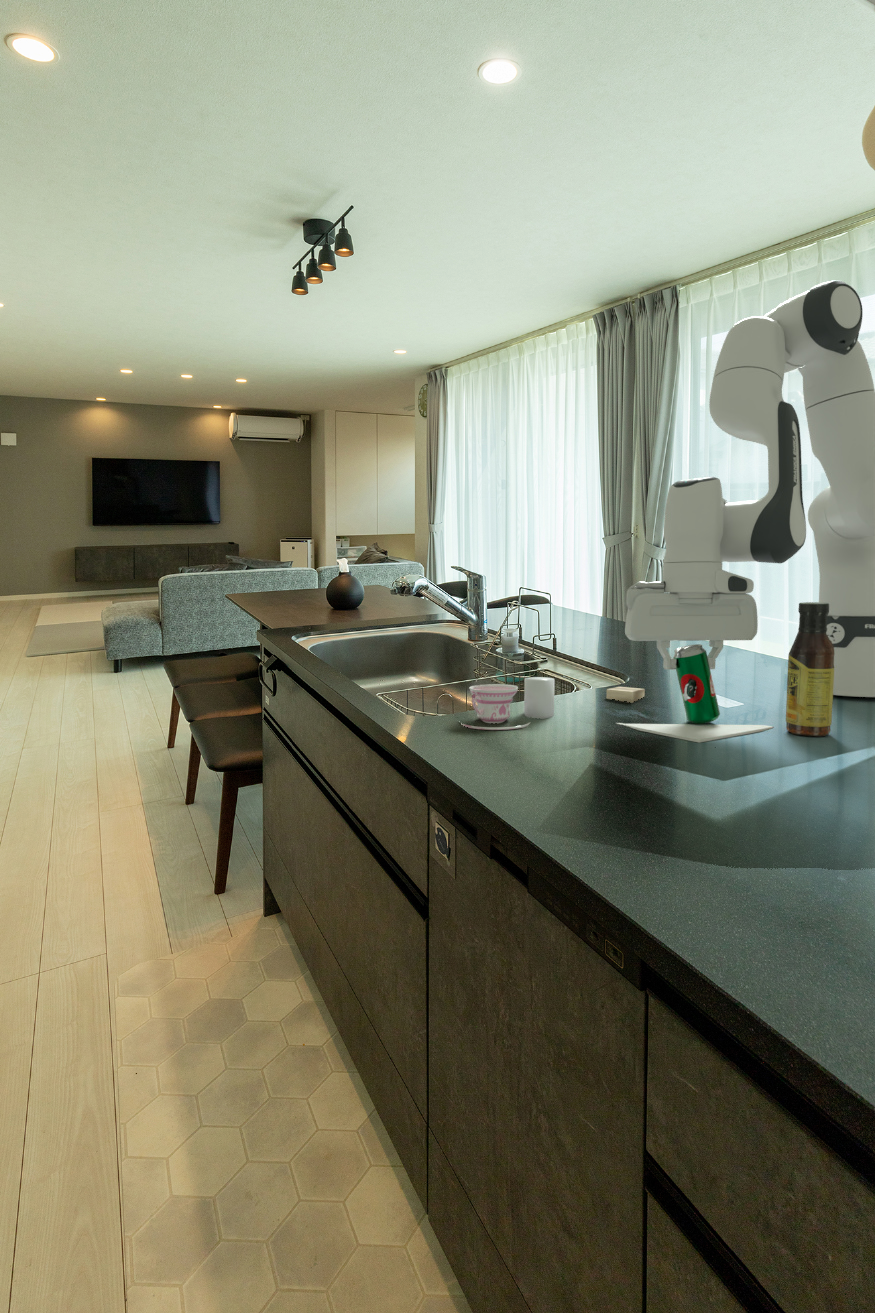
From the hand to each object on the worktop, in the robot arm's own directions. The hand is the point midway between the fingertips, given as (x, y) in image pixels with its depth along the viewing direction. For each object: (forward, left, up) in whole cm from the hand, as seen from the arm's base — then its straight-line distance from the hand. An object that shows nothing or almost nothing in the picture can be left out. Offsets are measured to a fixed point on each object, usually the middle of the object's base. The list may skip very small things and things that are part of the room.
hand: (689, 669), depth 117 cm
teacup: (+24, -19, -10) cm, 32 cm away
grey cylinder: (+16, -18, -9) cm, 26 cm away
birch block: (-4, -17, -9) cm, 20 cm away
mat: (0, 0, -9) cm, 9 cm away
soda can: (-2, +1, -8) cm, 9 cm away
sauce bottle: (-10, +14, -9) cm, 20 cm away
